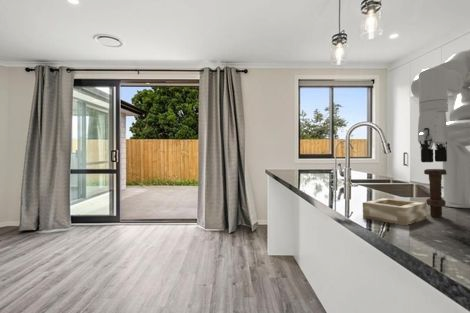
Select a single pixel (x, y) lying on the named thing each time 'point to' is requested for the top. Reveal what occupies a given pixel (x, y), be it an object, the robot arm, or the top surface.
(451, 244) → the top surface
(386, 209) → the socket block
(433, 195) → the bolt
